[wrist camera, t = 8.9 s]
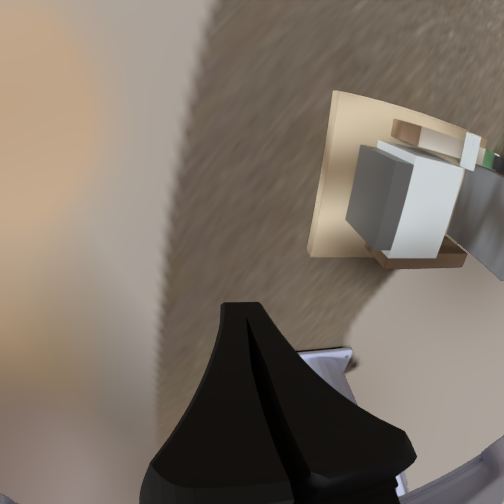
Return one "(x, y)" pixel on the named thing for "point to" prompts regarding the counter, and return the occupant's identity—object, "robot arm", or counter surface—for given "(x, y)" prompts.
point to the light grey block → (406, 197)
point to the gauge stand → (420, 137)
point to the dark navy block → (498, 164)
